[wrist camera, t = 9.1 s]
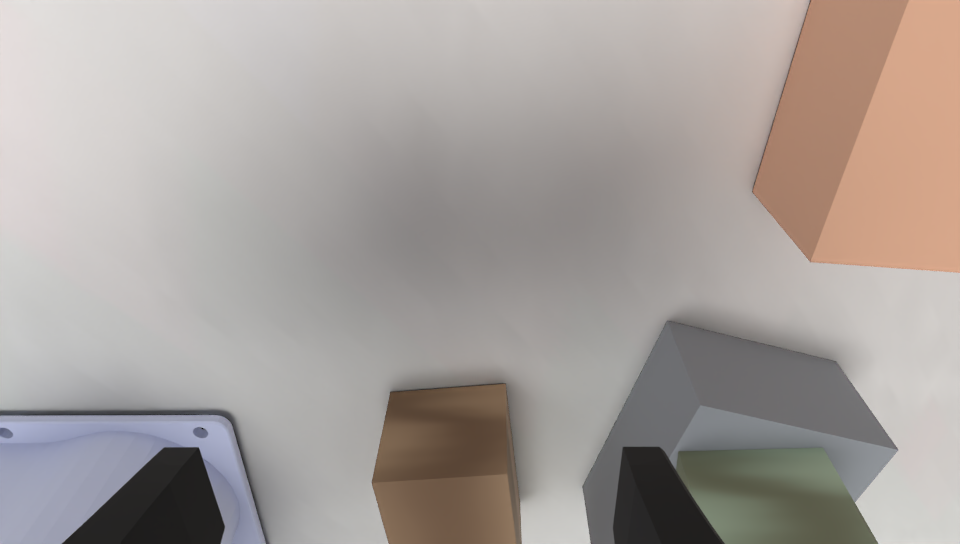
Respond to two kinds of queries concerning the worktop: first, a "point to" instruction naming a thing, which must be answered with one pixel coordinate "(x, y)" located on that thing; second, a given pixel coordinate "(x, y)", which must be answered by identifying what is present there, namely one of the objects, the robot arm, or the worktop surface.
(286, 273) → the worktop surface
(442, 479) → the walnut brick
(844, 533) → the sage brick
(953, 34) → the terracotta brick
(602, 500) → the slate brick
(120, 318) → the worktop surface
